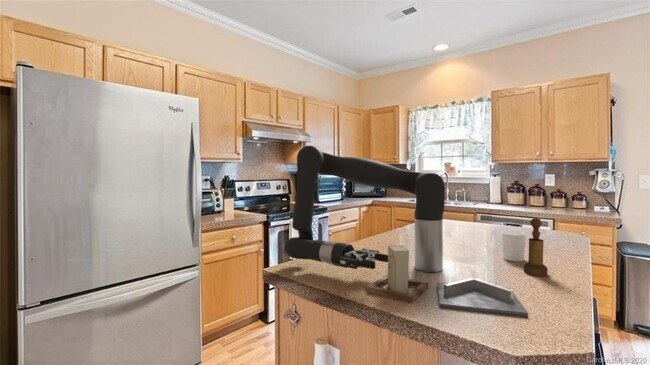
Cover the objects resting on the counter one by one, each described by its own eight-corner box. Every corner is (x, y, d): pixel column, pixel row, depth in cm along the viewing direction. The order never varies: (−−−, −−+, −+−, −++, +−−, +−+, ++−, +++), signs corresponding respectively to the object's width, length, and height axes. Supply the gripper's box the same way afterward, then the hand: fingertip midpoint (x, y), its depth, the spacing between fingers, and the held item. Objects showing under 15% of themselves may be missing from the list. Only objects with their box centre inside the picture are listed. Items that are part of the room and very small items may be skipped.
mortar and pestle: (551, 277, 100) (552, 220, 100) (528, 275, 101) (529, 219, 101) (541, 270, 107) (542, 217, 106) (520, 269, 108) (520, 216, 107)
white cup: (525, 258, 122) (526, 232, 122) (525, 263, 115) (525, 235, 115) (502, 255, 126) (502, 230, 126) (500, 260, 120) (501, 233, 119)
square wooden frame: (387, 279, 100) (387, 274, 100) (428, 288, 92) (428, 282, 92) (366, 291, 89) (366, 286, 89) (410, 302, 81) (410, 297, 81)
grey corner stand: (437, 285, 94) (437, 273, 94) (509, 292, 88) (510, 279, 88) (439, 307, 78) (439, 293, 78) (527, 317, 73) (528, 302, 73)
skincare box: (387, 286, 93) (387, 245, 93) (401, 285, 94) (401, 244, 93) (393, 294, 87) (393, 250, 87) (409, 293, 88) (409, 249, 87)
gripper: (323, 246, 97) (369, 254, 88) (348, 238, 109) (392, 244, 99) (323, 270, 98) (370, 281, 88) (348, 260, 109) (392, 268, 99)
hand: (381, 261), depth 93 cm, fingers open, 8 cm apart
